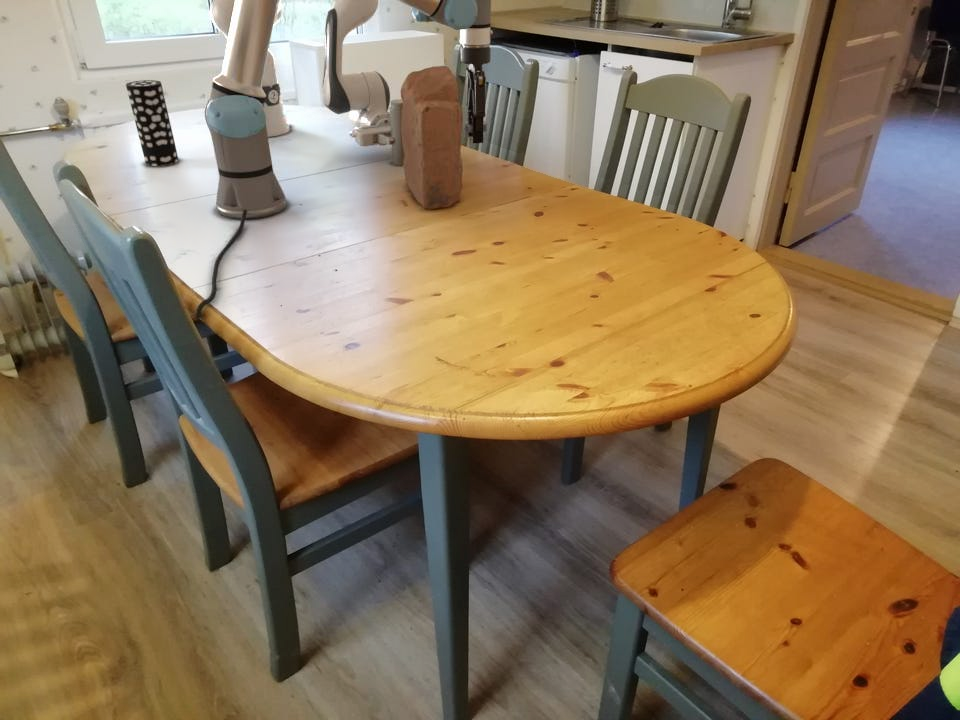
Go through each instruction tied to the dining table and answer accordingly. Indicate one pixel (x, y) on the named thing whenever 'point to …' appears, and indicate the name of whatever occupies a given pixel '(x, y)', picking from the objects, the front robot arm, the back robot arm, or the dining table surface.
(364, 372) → the dining table surface
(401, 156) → the jar
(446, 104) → the stone
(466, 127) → the lid
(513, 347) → the dining table surface
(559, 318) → the dining table surface
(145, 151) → the black white spotted cylinder
